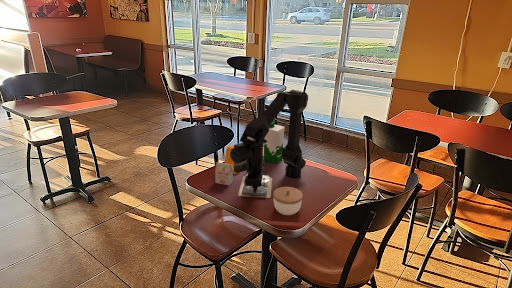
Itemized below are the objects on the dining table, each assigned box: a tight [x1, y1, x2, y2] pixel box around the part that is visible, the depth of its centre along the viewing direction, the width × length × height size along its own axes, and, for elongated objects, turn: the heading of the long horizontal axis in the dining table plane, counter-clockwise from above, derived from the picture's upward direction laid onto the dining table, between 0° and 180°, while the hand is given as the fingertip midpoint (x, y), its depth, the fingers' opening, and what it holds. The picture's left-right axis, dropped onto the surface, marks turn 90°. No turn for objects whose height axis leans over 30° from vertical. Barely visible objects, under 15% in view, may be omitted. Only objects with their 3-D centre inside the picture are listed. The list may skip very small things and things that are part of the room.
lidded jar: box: [272, 186, 303, 216], centre depth 120 cm, size 11×11×9 cm
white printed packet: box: [214, 161, 234, 186], centre depth 139 cm, size 4×7×10 cm, turn 70°
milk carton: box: [263, 121, 285, 164], centre depth 159 cm, size 9×9×20 cm
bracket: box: [224, 144, 240, 175], centre depth 151 cm, size 11×7×12 cm, turn 160°
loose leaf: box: [242, 185, 268, 195], centre depth 133 cm, size 10×10×2 cm
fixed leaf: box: [244, 174, 270, 186], centre depth 140 cm, size 10×10×2 cm
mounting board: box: [237, 175, 273, 199], centre depth 138 cm, size 13×17×1 cm
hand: (254, 190), depth 131 cm, fingers closed, pressing on loose leaf
